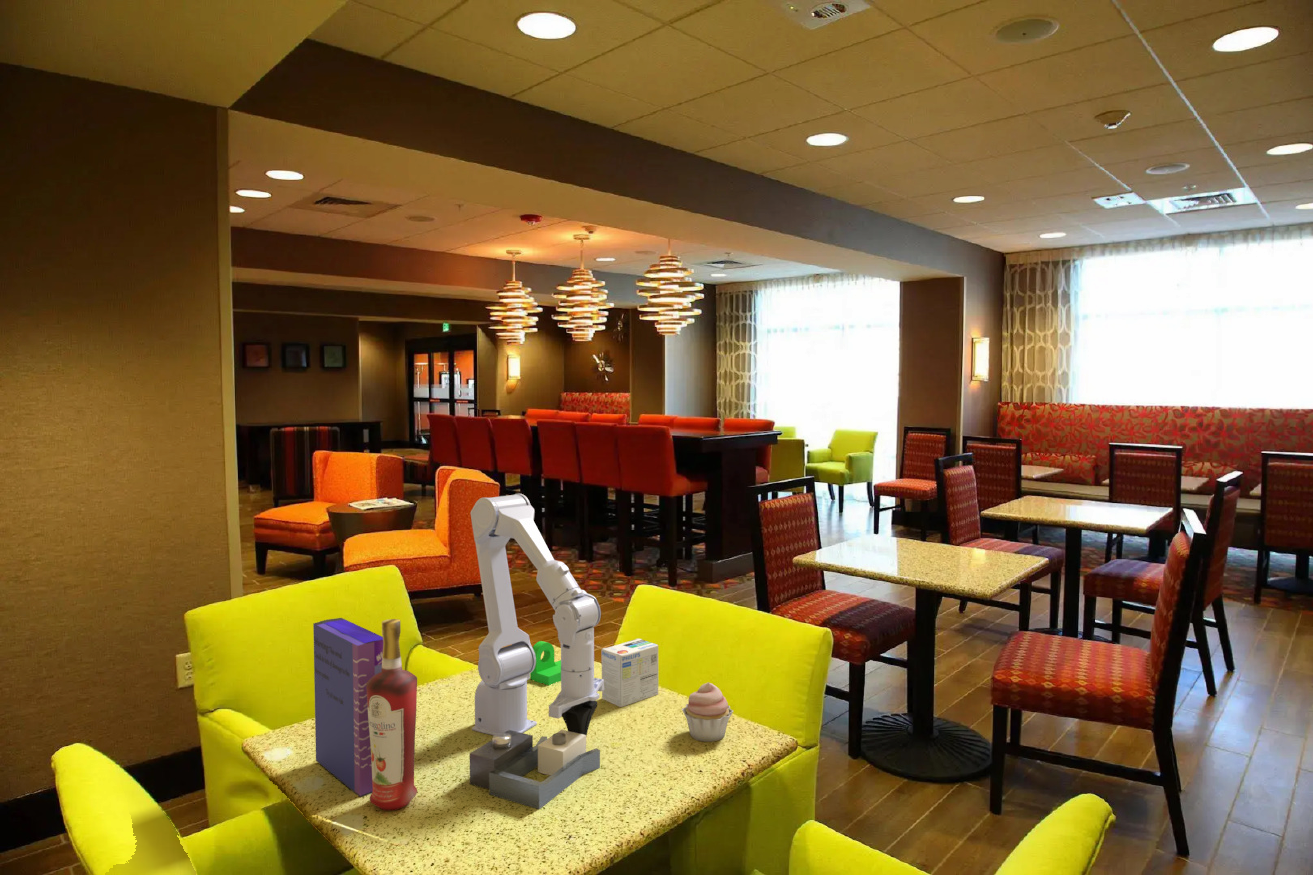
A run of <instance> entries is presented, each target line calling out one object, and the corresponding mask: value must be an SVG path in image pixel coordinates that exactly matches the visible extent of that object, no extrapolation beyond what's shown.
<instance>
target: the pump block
mask: <svg viewBox="0 0 1313 875" xmlns="http://www.w3.org/2000/svg"><path fill="white" fill-rule="evenodd" d="M585 752H587V736H586V735H583V734H579V733H575V732H570V731H568V730H566V729H560V730H559V731H557V732H555V733H553V734H552V735H551V736H549V737H547V740H545V741H544V742H542V743H541V744H539V745H538V766H537V773H540V774H543V775H547V776H551V775H552V774H554V773H555V772H556V771H558V770H559V769H560V768H562V767H563V766H564V765H566V764H567V763H569V762H570V761H571V760H573V759H574V758H575V757H577V756H578V755H580V754H583V753H585Z"/></svg>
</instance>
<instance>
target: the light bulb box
mask: <svg viewBox="0 0 1313 875" xmlns="http://www.w3.org/2000/svg"><path fill="white" fill-rule="evenodd" d="M600 654H601V679H604V690H603V691H601V699H602V700H603V701H606V702H607V703H610V704H612V705H614V706H617V707H619V708H623V707H626V706H628V705H631V704H635V703H637V702H640V701H642V700H646V699H649V698H652V697H655V696H656V695H659V645H658V644H656V643H655V642H654V643H653V642H650V641H647V640H644V639H642V638H635V639H632V640H629V641H626V642H622V643H620V644H615V645H612V646H609V647H603V648H601V653H600Z"/></svg>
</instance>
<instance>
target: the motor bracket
mask: <svg viewBox="0 0 1313 875" xmlns="http://www.w3.org/2000/svg"><path fill="white" fill-rule="evenodd" d="M533 736H534V735H532V734H528V733H525V732H523V733H520V732H516V731H512V730H508V731H506V732H505V733H500V734H496V735H492V739H491V740H490V741H488V742H486V743H484V744H483V745H481V746H479V747H478V748H476V749H474V750H472V751H471V752H469V785H472V786H476V787H479V788H482V789H486V790H489V794H488V795H490V796H493V797H497V798H499V799H503V800H505V801H510V802H514V803H517V804H520V805H523V806H527V807H530V808H534V809H537V810H540V809H542V808H543V807H544V806H545V805H547V804H548V803H550V802H551V801H552V800H553V799H554V798H556V797H557V796H558V795H559V794H560V793H562V792H564V790H566V789H567V788H568V787H570V786H571V785H572V784H573V783H575V782H576V781H577V780H578V779H579V778H581V777H583V776H584V775H586V774H589V773H591V772H593V771H596V770H598V769H600V768H601V755H600V754H601V751H600V749H599V748H593V749H591V750H589V751H586V752H585V753H583V754H580V755H578V756H577V757H575V758H574V759H573V760H571V761H570V762H569V763H567V764H566V765H564V766H563V767H562V768H560V769H559V770H558V771H556V772H555V773H554V774H552V775H551V776H550V775H548V777H547V778H546V779H544V780H542V781H539V780H535V779H531V778H527V777H524V776H525V775H527V774H528V773H530V772H531V771H533V770H534V769H536V768H538V745H539V744H541V743H542V742H544V741H545V740H547V739H548V736H546V735H545V736H541V737H540V738H539V740H538V742H537V743H536V744H535V745H534V746H533V744H534V742H533V740H534V739H533Z"/></svg>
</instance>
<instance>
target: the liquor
mask: <svg viewBox="0 0 1313 875" xmlns="http://www.w3.org/2000/svg"><path fill="white" fill-rule="evenodd" d="M401 628H402V627H401V620H400V619H398V618H397V619H396V618H392V619H391V618H390V619H385V620H382V621H381V636H382V637H383V642H384V644H383V657H382V670H381V672H380V673H378V674H376V675H374V676H373V677H372V678H371V679H370V680H369V681H368V682H367V683H366V688H367V705H368V721H369V732H370V745H371V762H372V785H373V792H372V793H371V794H370V796H369V801H370V803H371V804H372V805H374V806H375V807H376V808H379V809H380V810H382V811H389V812H390V811H391V812H392V811H397V810H401V809H402V808H404V807H406V806H408V804H409V803H410V802H412V800H413V799H414V798H415V797H416V795H417V793H418V789H417V787H416V785H415V749H416V725H417V723H416V722H417V706H418V705H417V699H418V697H417V696H418V677H417V676H416V675H415V674H413V673H412V672H411V671H409V670H406V669H403V666H402V665H403V664H402V655H401V648H400V636H401Z"/></svg>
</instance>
